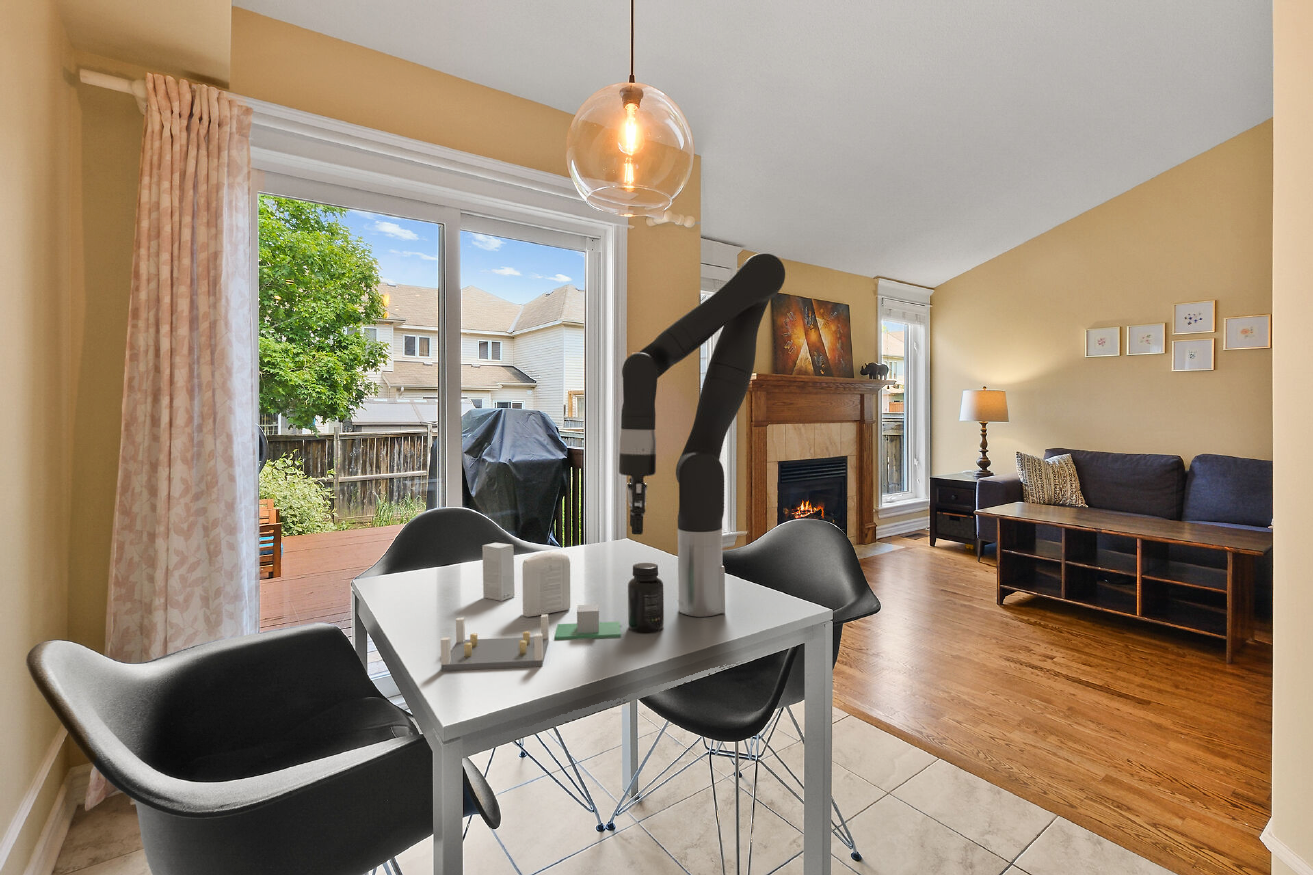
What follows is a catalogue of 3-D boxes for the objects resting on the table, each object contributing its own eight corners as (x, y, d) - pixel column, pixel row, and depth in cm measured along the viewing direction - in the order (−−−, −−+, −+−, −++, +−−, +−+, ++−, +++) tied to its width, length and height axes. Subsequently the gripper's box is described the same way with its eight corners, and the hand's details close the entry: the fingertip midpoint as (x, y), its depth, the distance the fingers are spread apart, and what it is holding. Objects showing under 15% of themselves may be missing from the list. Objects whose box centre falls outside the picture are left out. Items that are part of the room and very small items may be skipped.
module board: (619, 626, 119) (619, 601, 118) (620, 639, 112) (620, 612, 112) (557, 629, 118) (557, 603, 117) (554, 642, 111) (554, 615, 110)
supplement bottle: (667, 622, 119) (666, 562, 119) (659, 634, 112) (658, 570, 112) (634, 620, 121) (633, 560, 120) (623, 632, 114) (622, 568, 114)
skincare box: (515, 596, 138) (514, 544, 138) (501, 601, 134) (500, 548, 134) (496, 593, 141) (495, 541, 141) (482, 597, 138) (481, 545, 137)
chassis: (548, 641, 110) (548, 614, 109) (542, 666, 99) (541, 635, 98) (458, 645, 108) (457, 617, 108) (441, 670, 97) (440, 639, 97)
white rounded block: (565, 604, 131) (564, 548, 131) (573, 610, 128) (572, 551, 128) (519, 613, 126) (518, 554, 125) (527, 619, 122) (526, 558, 122)
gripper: (659, 453, 117) (657, 537, 118) (653, 450, 132) (651, 524, 132) (620, 453, 117) (618, 536, 117) (618, 449, 131) (617, 524, 131)
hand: (636, 530), depth 125 cm, fingers open, 8 cm apart
